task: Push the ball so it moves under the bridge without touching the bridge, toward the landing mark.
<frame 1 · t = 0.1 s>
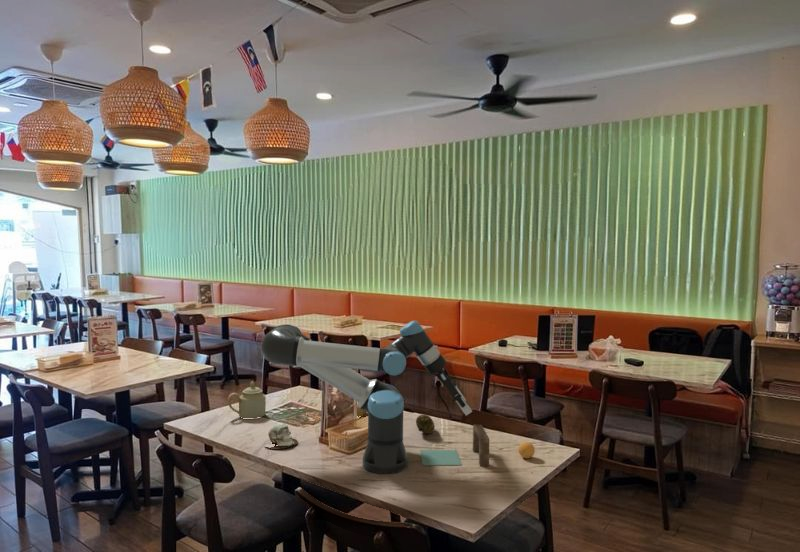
hand: (466, 407, 188), 15 cm above the table, tool tilted 35°, fingers open, 13 cm apart
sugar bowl: (249, 417, 224), on the table
dark green avocado: (425, 433, 206), on the table
skull: (281, 445, 192), on the table
croissant: (349, 418, 224), on the table
ball: (526, 449, 182), on the table
landing mark: (440, 457, 181), on the table
bridge: (480, 457, 182), on the table
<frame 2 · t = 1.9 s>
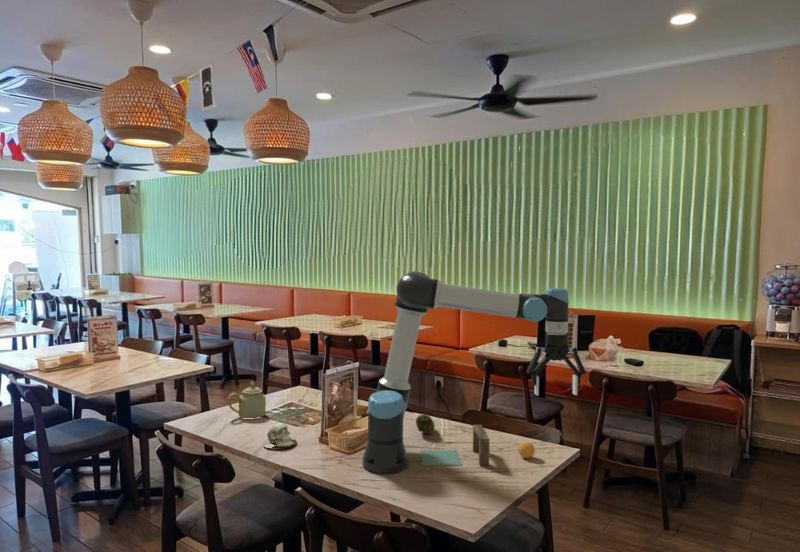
hand: (555, 394, 182), 22 cm above the table, tool pointing down, fingers open, 13 cm apart
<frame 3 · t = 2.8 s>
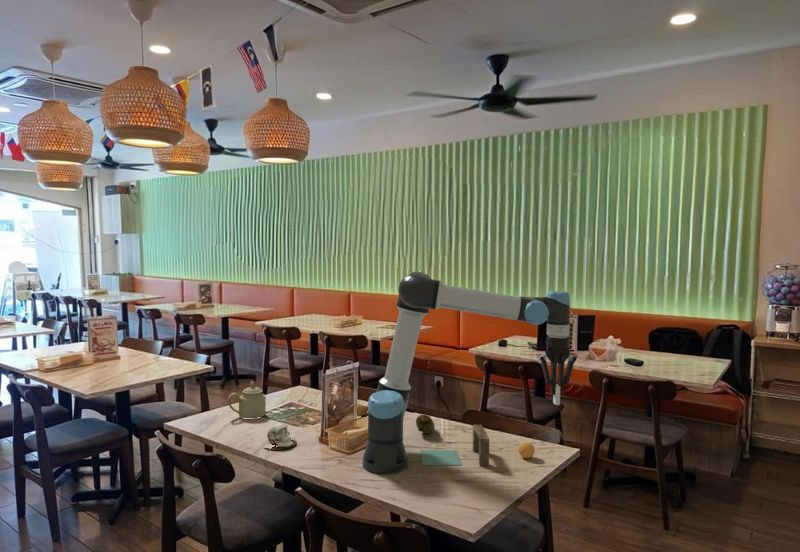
hand: (556, 403, 182), 19 cm above the table, tool pointing down, fingers closed
nothing on the table moved.
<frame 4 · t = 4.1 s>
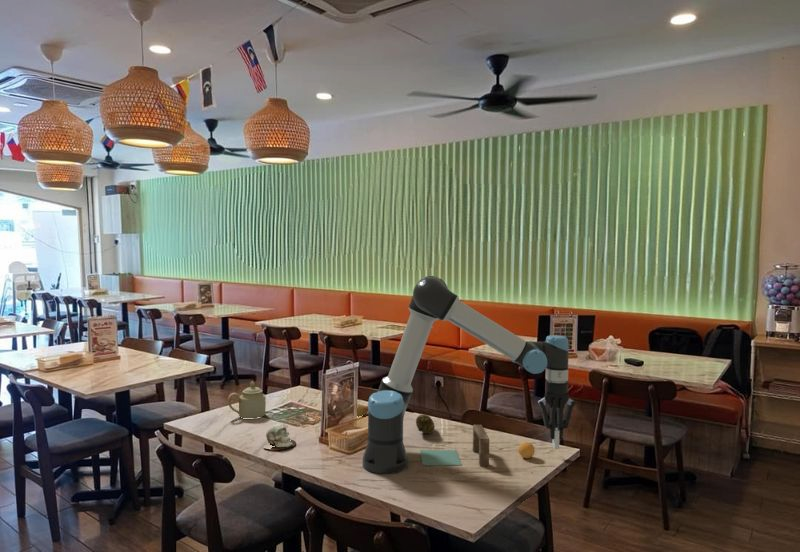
hand: (555, 447, 182), 3 cm above the table, tool pointing down, fingers closed
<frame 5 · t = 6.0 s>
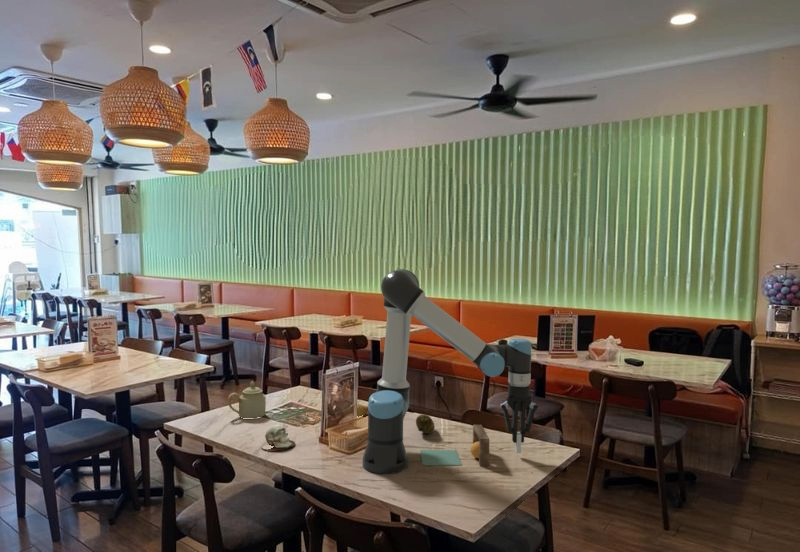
hand: (517, 451, 182), 2 cm above the table, tool pointing down, fingers closed
ball: (478, 449, 181), on the table
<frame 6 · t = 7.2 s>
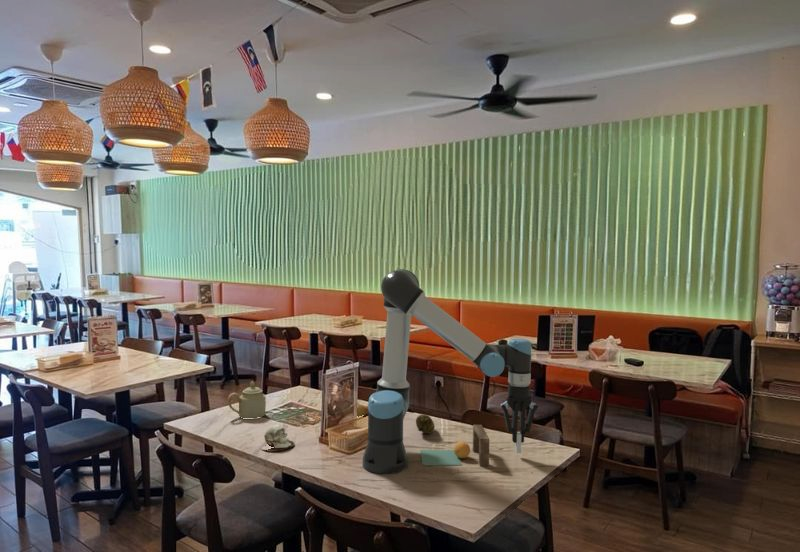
hand: (517, 451, 182), 2 cm above the table, tool pointing down, fingers closed
ball: (462, 449, 181), on the table
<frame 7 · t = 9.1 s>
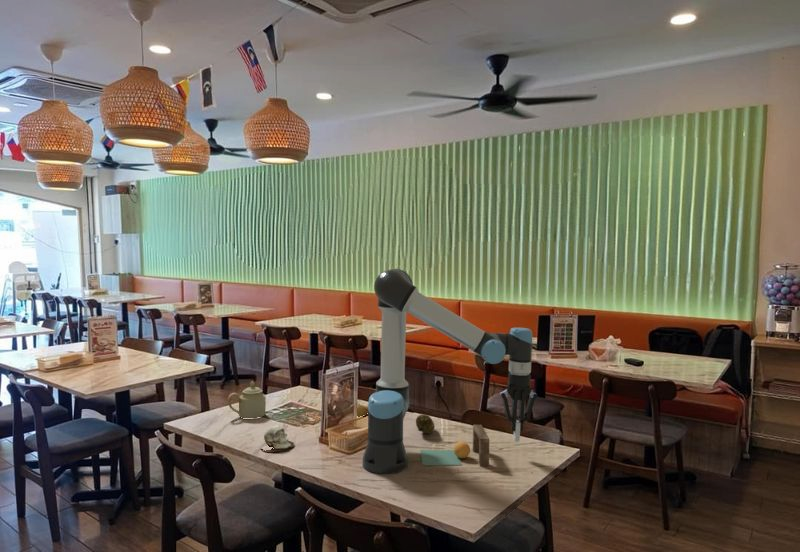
hand: (516, 440, 182), 6 cm above the table, tool pointing down, fingers closed
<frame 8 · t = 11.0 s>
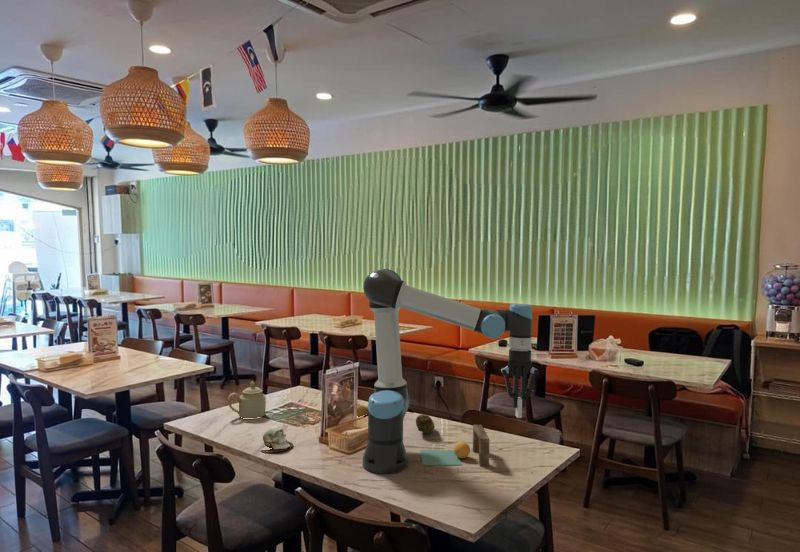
hand: (518, 416, 181), 14 cm above the table, tool pointing down, fingers closed
at the end: ball 7.5 cm from the landing mark (horizontally); ball never touched bridge; ball at rest at the end (0.0 cm/s) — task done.
